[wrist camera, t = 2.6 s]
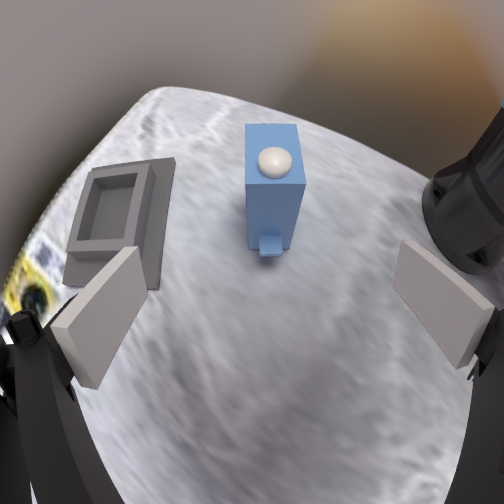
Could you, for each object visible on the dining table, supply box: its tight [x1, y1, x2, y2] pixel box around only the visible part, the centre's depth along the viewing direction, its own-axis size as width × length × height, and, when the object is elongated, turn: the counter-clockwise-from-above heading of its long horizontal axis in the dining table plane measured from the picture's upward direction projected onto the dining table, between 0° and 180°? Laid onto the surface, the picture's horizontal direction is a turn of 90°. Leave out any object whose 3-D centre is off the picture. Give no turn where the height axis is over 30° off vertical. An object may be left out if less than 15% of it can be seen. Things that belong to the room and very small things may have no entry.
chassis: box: [62, 157, 176, 289], centre depth 28 cm, size 16×12×4 cm
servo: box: [245, 124, 306, 257], centre depth 24 cm, size 10×4×12 cm, turn 1°
